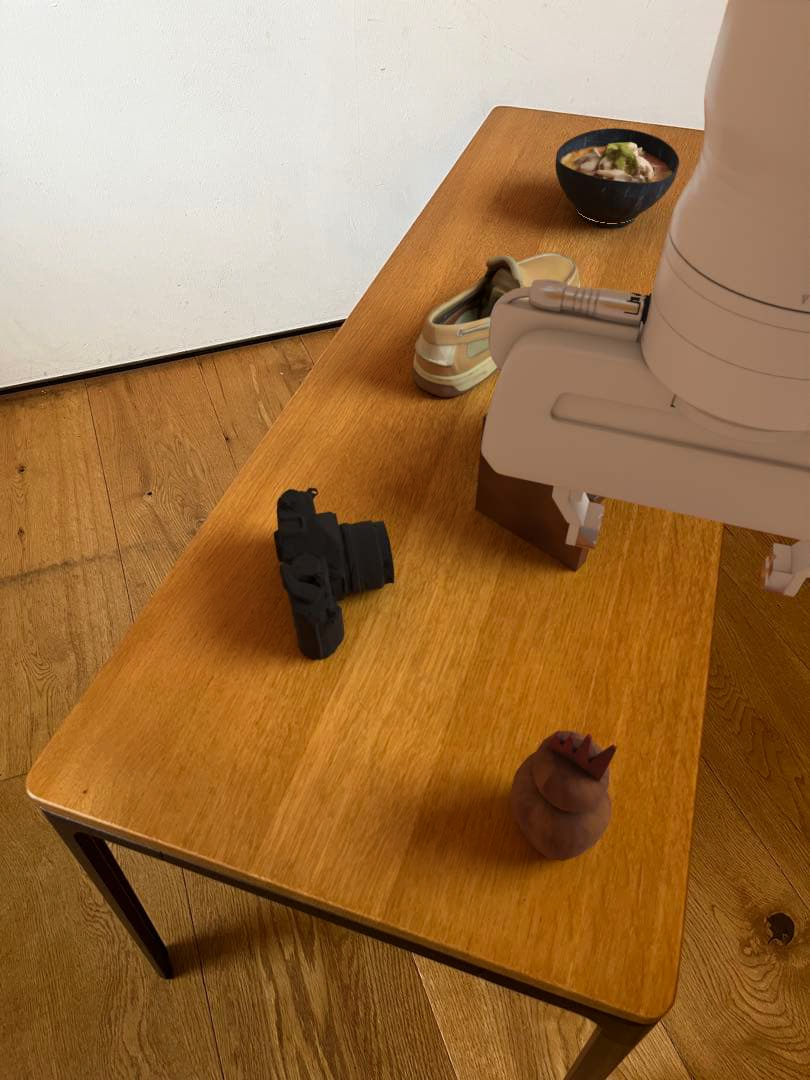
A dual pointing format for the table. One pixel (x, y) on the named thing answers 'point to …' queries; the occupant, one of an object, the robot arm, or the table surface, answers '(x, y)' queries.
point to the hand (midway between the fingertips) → (676, 560)
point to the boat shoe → (477, 323)
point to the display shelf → (527, 511)
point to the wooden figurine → (563, 795)
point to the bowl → (615, 174)
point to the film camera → (326, 567)
